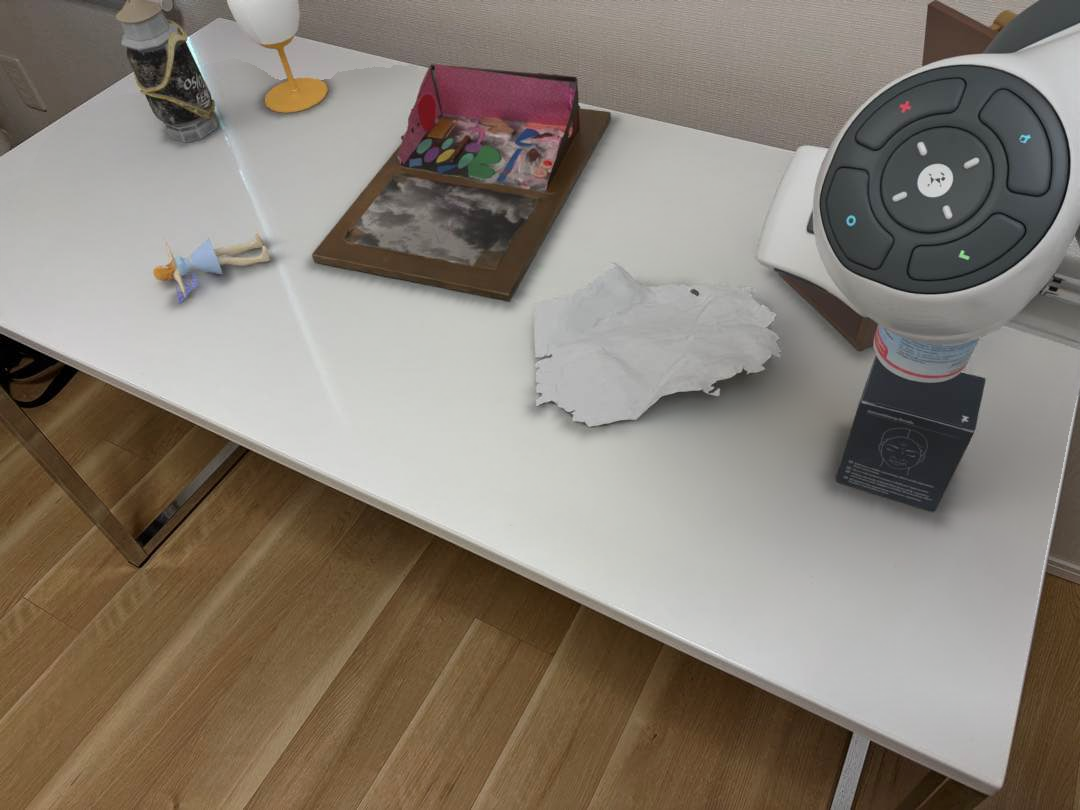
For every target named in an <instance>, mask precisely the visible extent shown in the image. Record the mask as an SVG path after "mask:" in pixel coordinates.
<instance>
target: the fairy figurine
mask: <svg viewBox="0 0 1080 810" xmlns="http://www.w3.org/2000/svg"><path fill="white" fill-rule="evenodd" d="M163 241H164V245H165V247H166V250H167V255H168V258H169V260H170V263H167V264H166V265H158V266H155V267H154V268H153V269H152V271H153V276H154V278H155V279H156V280H158V281H163V282H167V281H172V280H175V281H176V282H175V289H176V290H175V291H176V294H177V295H176V296H177V302H178V304H181V303H182V302H183V301H184V300H185V299H187V295H188V294H189V293H190V292H191V290H194V289H196V288H197V287H198V284H199V282H198V278H197V276H196V274H195V273H193V272H189V271H190V270H191V269H195V270H198V271H200V272H206V273H211V274H217V275H221V276H222V275H224V274H223V270H222V268H221V266H223V265H232V266H239V267H246V266H251V265H255V264H258V263H267V262H270V261H271V260H270V255H269V252H268V249H267V247H266V245H263V242H262V239H261V236H260V233H259V231H258V230H256V231H255V232H254V240H253V241H251V242H249V243H242V244H241V243H240V244H235V245H231V246H228V247H218V248H214V246H213V244H212V242H211V239H210V237H207V239H205V240H204V241H203V242H202V243H201V244H200V245H199V247H197V248H196V249H195V250H194V251H193V252H192V253H191V254H190V255H189V256H186V257H183V256H179V255H178V256H176V257H174V255H173V253H172V251H171V249H170V247H169V245H168V243H167V241H166V239H165V238H163ZM259 248H261V254H260V255H259V256H255V257H237V255H239V254H243V253H245V252H247V251H249V250H253V249H259ZM223 255H226V256H224V257H223ZM220 256H222V257H220ZM230 256H233V257H230ZM234 256H235V257H234ZM187 274H188V275H190V276H192V277H191V278H192V279H193V280H194V281H192V280H189V277H187V276H185V275H187ZM184 276H185V278H187V280H188V281H185V280H184V278H183V277H184ZM192 282H193V283H192ZM189 283H192V285H187V284H189ZM177 284H178V285H179V288H180V290H178V286H177ZM180 291H181V292H182V293H180Z"/></svg>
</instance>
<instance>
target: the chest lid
mask: <svg viewBox="0 0 1080 810" xmlns="http://www.w3.org/2000/svg"><path fill="white" fill-rule="evenodd" d="M1017 15H1018V14H1017V13H1015V12H1014V11H1012V10H1009V9H1005V10H1003V11H1001V12H1000V13H998V15H997V16H996V17H995V19H994V20H993V22H992V24H990V25H988V26H987V25H985V24H983V23H981V22H980V21H978V20H976V19H974V18H972V17H971V16H968V15H966V14H965V13H963V12H961V11H960V10H959V11H958V10H957V9H955V8H953V7H951V6H949V5H947V4H946V3H943V2H941V1H940V0H932V1H931V2H929V3H927V9H926V19H925V20H926V21H925V29H924V30H925V31H924V39H923V40H924V41H923V50H922V51H923V52H922V61H921V67H923V66H925V65H928V64H930V63H933V62H936V61H940V60H943V59H948V58H952V57H957V56H964V55H972V54H983V52H984V51H985V50H986V48H987V47H988V46H989V44H990V43H991V42H992V41H993V39H994V38H995V37H996V36H997V35H998V34H999V32H1000V31H1001V30H1002V29H1003V28H1004V27H1005V26H1006V25H1007V24H1008V23H1009V22H1010V21H1011V20H1012V19H1013V18H1015V17H1016V16H1017Z"/></svg>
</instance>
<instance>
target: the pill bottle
mask: <svg viewBox="0 0 1080 810" xmlns="http://www.w3.org/2000/svg"><path fill="white" fill-rule="evenodd" d="M979 340H980V338H978V339H975V340H971V341H968V342H964V343H958V344H949V345H931V344H923V343H918V342H914V341H910V340H907V339H904V338H902V337H900V336H897V335H895V334H893V333H891V332H890V331H888V330H886V329H885V328H884V327H882V326H880V325H879V324H878V327H877V330H876V333H875V336H874V345H873V350H874V353H875V356H877V358H878V359H879V361H880V362H881V363H882V364H883V365H884V366H885V367H886V368H887V369H888V370H889V371H891V372H892V373H894V374H896V375H898V376H900V377H903V378H905V379H908V380H913V381H918V382H927V383H934V382H943V381H947V380H949V379H952V378H954V377H955V376H957V375H958V374H960V373H961V372H962V371H964V370H965V368H966V367H967V365H968V363H969V361H970V359H971V357H972V355H973V353H974V351H975V350H976V346H977V345H978V343H979Z"/></svg>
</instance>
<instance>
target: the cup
mask: <svg viewBox="0 0 1080 810" xmlns="http://www.w3.org/2000/svg"><path fill="white" fill-rule="evenodd" d="M226 3H227V6H228V8H229V10H230V12H231V14H232V17H233V19H234V21H235V22H236V23H237V24H238V26H239V28H240V29H241V31H242V32H243V33H244V34H245V35H246V36H247V37H248V39H250V40H251V41H252V42H254V43H255V44H257V45H259V46H261V47H263V48H265V49H269V50H273V49H274V50H276V51H277V53H278V56H279V58H280V62H281V65H282V67H283V70H284V73H285V76H286V79H287V80H285V81H284V82H281V83H280V84H277V85H276V86H274V87H273V88H272V89H270V90H269V91H268V92H267V93H266V96H265V98H264V104H265V107H266V108H268V109H269V110H271V111H272V112H277V113H281V114H287V113H297V112H298V113H299V112H301V111H304V110H308V109H310V108H312V107H314V106H316V105H319V103H321V102H322V100H324V99H325V98H326V96H327V93H328V91H329V89H328V85H327V83H326V82H324V81H322V80H321V79H319V78H313V77H297V78H294V75H293V73H292V70H291V67H290V64H289V61H288V58H287V55H286V52H285V49H284V48H285V47H286V46H288V45H289V44H290V43H292V41H293V39H294V37H295V36H296V34H297V33H298V30H299V25H300V17H301V15H300V2H299V0H226ZM296 89H297V90H296ZM292 90H296V91H292Z"/></svg>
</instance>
